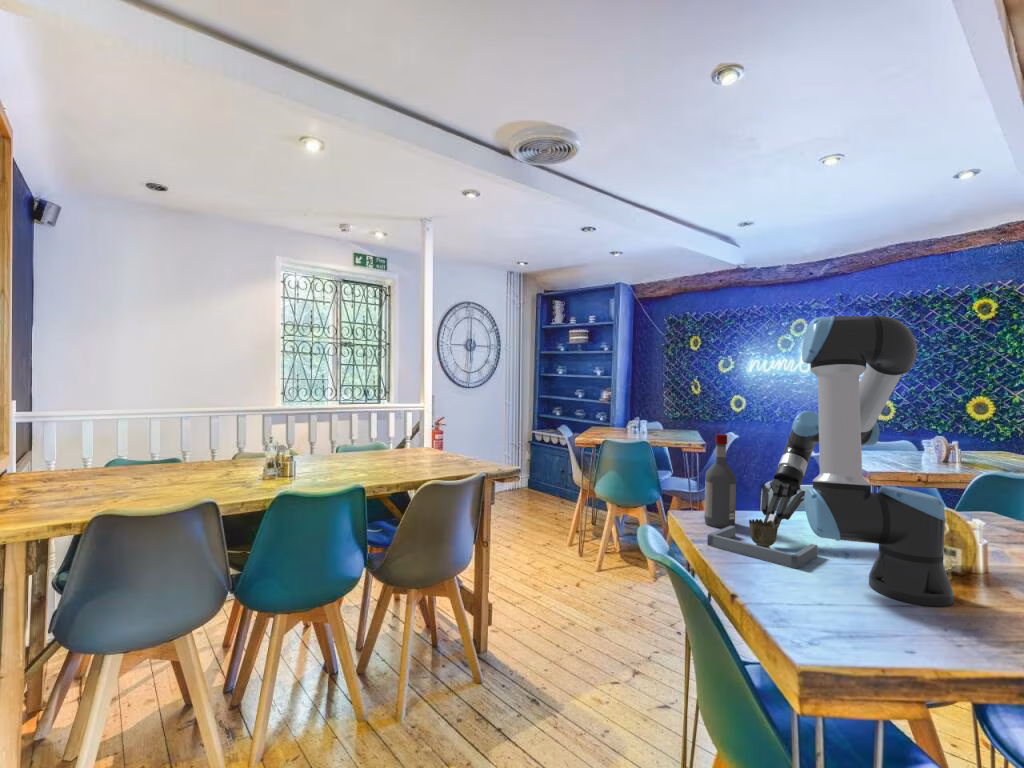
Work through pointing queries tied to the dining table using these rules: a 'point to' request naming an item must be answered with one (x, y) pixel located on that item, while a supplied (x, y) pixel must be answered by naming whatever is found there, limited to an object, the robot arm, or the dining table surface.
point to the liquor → (720, 489)
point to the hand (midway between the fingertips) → (767, 535)
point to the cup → (763, 532)
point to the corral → (760, 549)
